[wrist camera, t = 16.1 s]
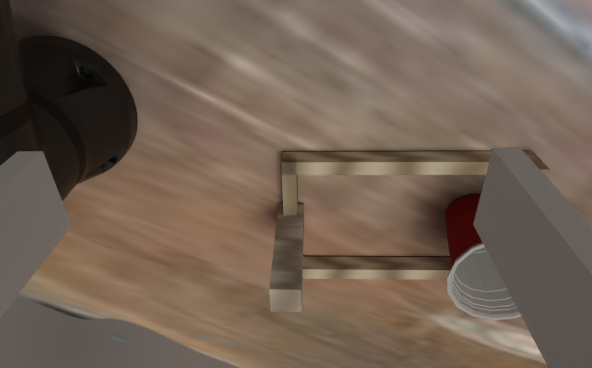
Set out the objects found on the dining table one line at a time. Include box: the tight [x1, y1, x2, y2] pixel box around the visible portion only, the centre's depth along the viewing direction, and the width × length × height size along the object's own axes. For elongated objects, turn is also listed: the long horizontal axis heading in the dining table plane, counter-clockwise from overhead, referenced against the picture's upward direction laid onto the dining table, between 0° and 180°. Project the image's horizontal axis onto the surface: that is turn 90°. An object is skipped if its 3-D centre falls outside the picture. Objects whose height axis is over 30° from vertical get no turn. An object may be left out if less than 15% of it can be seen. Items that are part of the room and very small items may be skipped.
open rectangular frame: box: [269, 151, 550, 312], centre depth 46 cm, size 28×17×14 cm, turn 91°
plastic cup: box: [446, 194, 521, 320], centre depth 47 cm, size 11×11×12 cm
